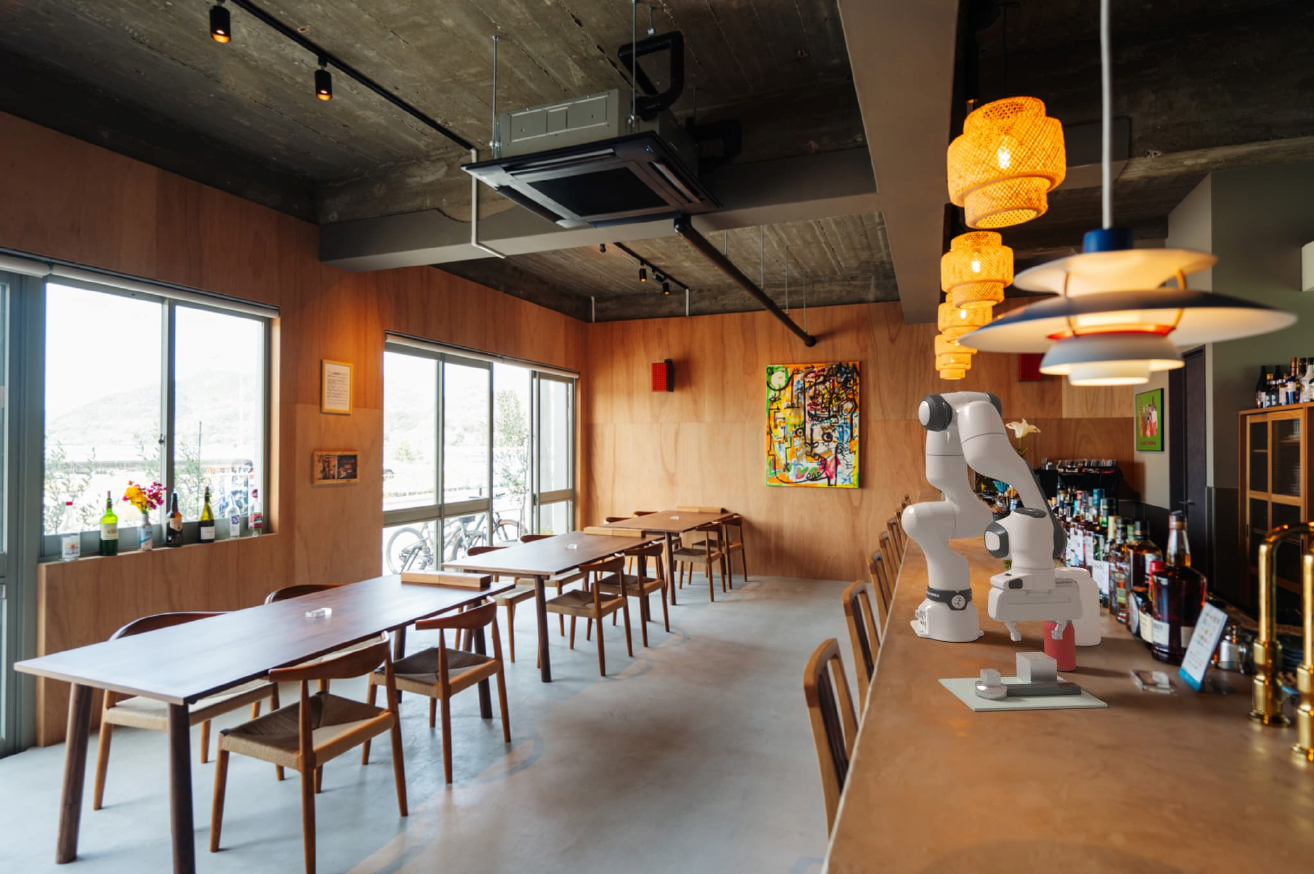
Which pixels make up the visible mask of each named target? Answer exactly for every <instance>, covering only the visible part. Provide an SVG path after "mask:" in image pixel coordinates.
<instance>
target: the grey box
mask: <svg viewBox="0 0 1314 874" xmlns="http://www.w3.org/2000/svg"><path fill="white" fill-rule="evenodd" d="M1015 659H1016V660H1015V661H1016V662H1015V663H1016V677H1017V679H1019V680H1020V681H1022V682H1024V683H1025V684H1028V683H1057V676H1058V671H1057V660H1056V659H1054V658H1052V657H1050V656H1048V655H1047V654H1045V652H1043V651H1030V652H1029V651H1027V652H1026V651H1023V652H1020V651H1019V652H1016V653H1015Z"/></svg>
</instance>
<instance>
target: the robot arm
mask: <svg viewBox="0 0 1314 874" xmlns="http://www.w3.org/2000/svg"><path fill="white" fill-rule="evenodd" d="M1003 410H1004V409H1003V404H1002V402H1001V399H1000V398H999V396H998V395H997V394H994V393H992V392H988V391H980V392H978V391H957V392H946V393H945V392H944V393H940V394H939V393H933V394H929V395H925V396H924V397H922V399H921V401H920V402H919V405H918V409H917V411H918V412H917V414H918V416H917V417H918V421H919V423H920V425H921V426H922V428H923V429H925V430H926V431H927V432H926V433H927V434H926V438H925V439H926V440H925V441H926V442H925V478H926V480H927V482H928V483H929V485H931V486H932V487H934V488H936V489H937V490H940V491H942V492H943V494H944V498H945V499H944V500H945V501H923V502H918V503H914V504H910V505H907V506H906V507H905V508H904V510H903V512H902V515H901V521H900V522H901V527H902V529H903V531H904V532H905V535H907V536H908V537H909V538H911V539H912V540H913V541H914V542H916V543H917V544H918V545H919V547H920V548H921V550H922V552H923V553H924V556H925V560H926V565H927V574H928V576H927V577H928V585H927V586H926V594H925V596H926V598H925V599H924V600H923V602H922V603H920V604H919V605H918V608H917V609H915V610H914V616H915V618H917V619H913V620H911V621H910V626H911V628H912V629H913V630H914V632H915V634H916V635H917V636H918V637H920V638H928V639H933V640H937V641H944V642H952V643H956V642H957V643H958V642H960V643H962V642H973V641H975V640H977V639H979V638H980V637H982V636H985V633H984V631H983V630H981V629H980V625H979V614H978V608H977V606H976V604H974V603H973V602H972V601H973V590H972V587H971V580H970V579H971V578H970V563H969V560H968V559H967V558H966V557H965V556H964V555H963V554H961V553H959V552H957V551H955V550H953V549H951V545H950V542H949V541H950V540H962V539H963V540H964V539H968V540H969V539H974V538H975V539H976V538H980V537H982V536H983V541H984V542H983V543H984V546H985V549H986V550H987V552H988V553H989V555H991V556H992V557H994V558H995V559H998V560H1002V559H1004V560H1009V559H1011V560H1012V565H1010V566H1011V567H1012V569H1011V567H1010V569H1009V570H1008V571H1006V570H1005V571H1004V572H1001V573H998V574H995V575H992V576H991V577H990V579H989V580H990V585H992V587H991V589H990V590H989V592H988V600H987V601H988V602H987V603H988V605H987V612H988V616H989V618H991V619H992V620H993V621H996V622H999V623H1000V622H1001V623H1002V622H1004V624H1005V626H1006V628H1007V629H1008V631H1009V632H1010V640H1012V641H1013V642H1017V641H1021V640H1022V633H1021V632H1019V631H1017V630H1016V628H1015V627H1016V626H1017V622H1031V621H1032V622H1035V621H1036V622H1037V621H1038V622H1039V621H1041V622H1042V621H1046V620H1055V621H1056V623H1058V624H1057V626H1056V628H1055V630H1051V633H1052V638H1053V639H1055V640H1058V639H1062V632H1063V630H1064V629H1065V627H1066V625H1067V620H1074V619H1080V618H1081V617H1082V615H1083V610H1082V604H1081V599H1080V595H1079V593H1080V588H1079V584H1078V582H1077V581H1075V580H1073V579H1072V578H1065V579H1063V578H1055V566H1056V565H1055V562H1054V561H1055V560H1057V559H1058V558H1059V557H1060V556H1061V555H1062V554H1063V553H1064V551H1065V550H1066V549H1067V547H1068V542H1069V541H1068V535H1067V532H1066V530H1065V528H1064V526H1063V525H1062V523H1061V522H1060V521H1059V519H1058V518H1057V516H1056V515H1055V513H1054V511H1053V509H1052V506H1051V505H1050V502H1049V500H1048V497H1047V496H1046V494H1045V492H1044V490H1043V487H1042V486H1041V484H1040V481H1039V479H1038V477H1037V475H1036V473H1035V471H1034V470H1033V468H1032V466H1031V464H1030V463H1029V462H1028V460H1026V459H1024V458H1023V457H1021V456H1020V455H1019V454H1018V453H1017V451H1016V450H1015V448H1014V447H1013V446H1012V443H1011V442H1010V439H1009V436H1008V433H1007V429H1006V427H1005V424H1004V422H1003V420H1002V417H1003V413H1004V412H1003ZM968 466H969V468H971V469H972V470H973V471H975V472H976V473H978V474H980V475H981V476H984V477H987V478H991V479H994V480H997V481H1000V482H1002V483H1005V484H1007V485H1009V486H1010V487H1011V488H1013V489H1014V490H1015V491H1016V492H1017V494H1018V496H1019V498H1020V500H1021V502H1022V505H1023V507H1017V508H1013V510H1011V511H1010V514H1009V515H1007V516H1006V517H1004V518H1001V519H999V520H994V515H993V512H992V511H991V509H990V507H988V505H987V504H986V503H984V502H983V501H981V499H979V498H978V497H977V495H976V494H975V493H974V491H973V489H972V487H971V485H970V480H969V473H968ZM1072 582H1075V583H1072Z"/></svg>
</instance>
